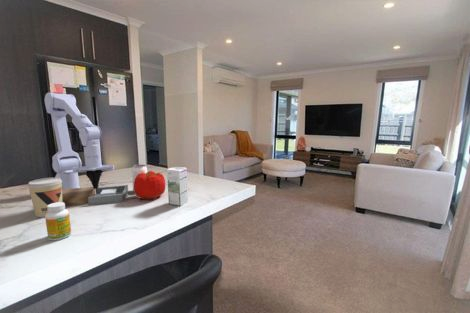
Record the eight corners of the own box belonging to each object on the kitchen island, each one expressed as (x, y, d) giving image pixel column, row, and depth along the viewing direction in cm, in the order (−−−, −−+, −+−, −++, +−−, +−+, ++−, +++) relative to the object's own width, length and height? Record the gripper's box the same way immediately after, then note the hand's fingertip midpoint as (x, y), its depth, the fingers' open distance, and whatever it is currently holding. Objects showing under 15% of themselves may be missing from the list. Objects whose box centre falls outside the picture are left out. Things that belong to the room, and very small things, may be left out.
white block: (115, 192, 97) (115, 197, 98) (116, 188, 103) (117, 193, 103) (100, 193, 96) (100, 199, 96) (102, 189, 101) (103, 195, 101)
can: (143, 193, 105) (141, 167, 103) (130, 192, 107) (128, 166, 105) (150, 189, 112) (149, 164, 110) (138, 188, 113) (137, 164, 111)
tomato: (162, 201, 95) (160, 177, 93) (128, 202, 94) (127, 177, 92) (169, 191, 108) (168, 169, 107) (140, 191, 108) (138, 169, 106)
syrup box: (188, 201, 96) (187, 167, 93) (180, 206, 90) (179, 170, 88) (176, 199, 97) (175, 166, 95) (168, 204, 92) (166, 169, 89)
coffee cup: (38, 220, 77) (33, 185, 75) (28, 214, 82) (23, 181, 80) (70, 211, 85) (66, 179, 83) (58, 206, 90) (54, 175, 88)
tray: (88, 205, 91) (88, 197, 91) (96, 194, 104) (95, 187, 104) (125, 201, 95) (124, 194, 95) (128, 191, 108) (127, 184, 108)
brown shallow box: (50, 207, 89) (49, 197, 88) (60, 198, 98) (59, 189, 97) (90, 203, 93) (89, 193, 92) (95, 195, 102) (94, 186, 102)
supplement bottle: (59, 241, 64) (55, 208, 63) (43, 240, 65) (38, 207, 64) (75, 232, 70) (72, 201, 68) (60, 231, 70) (56, 200, 69)
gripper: (68, 158, 89) (72, 192, 91) (111, 156, 94) (113, 189, 96) (74, 155, 95) (78, 187, 98) (113, 154, 100) (116, 184, 103)
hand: (96, 188), depth 97 cm, fingers closed
